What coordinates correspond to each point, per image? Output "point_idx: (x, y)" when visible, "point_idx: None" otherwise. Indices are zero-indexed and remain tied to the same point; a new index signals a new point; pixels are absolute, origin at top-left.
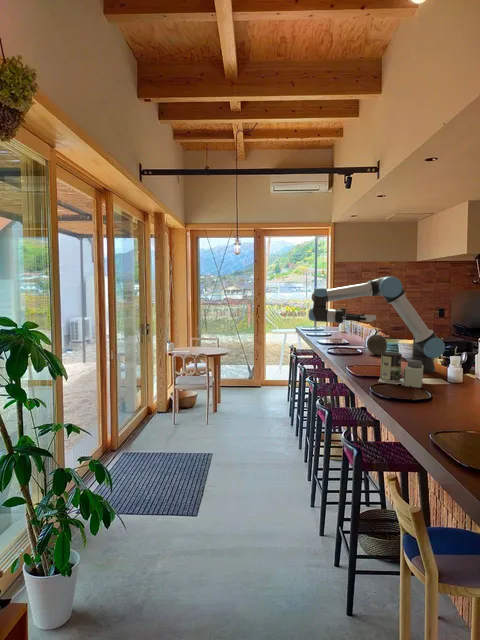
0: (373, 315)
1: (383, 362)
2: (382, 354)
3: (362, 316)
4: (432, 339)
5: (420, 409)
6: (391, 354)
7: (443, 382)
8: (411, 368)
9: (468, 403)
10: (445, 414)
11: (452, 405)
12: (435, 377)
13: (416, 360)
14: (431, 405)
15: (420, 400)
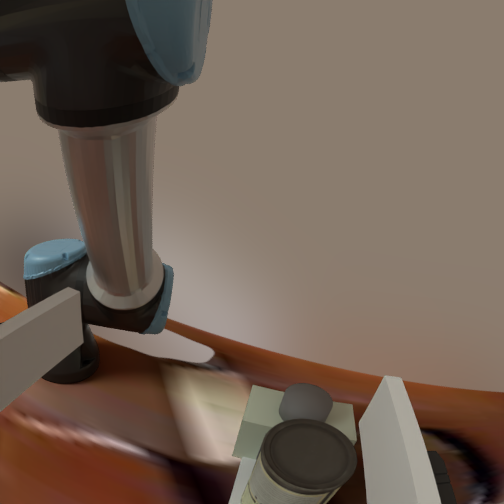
0: (60, 303)
1: (328, 500)
2: (335, 488)
3: (434, 487)
4: (172, 278)
5: (499, 436)
6: (334, 454)
7: (226, 379)
8: (345, 426)
9: (408, 386)
10: (491, 412)
11: (441, 405)
12: (161, 371)
13: (293, 393)
14: (467, 427)
15: (452, 442)
